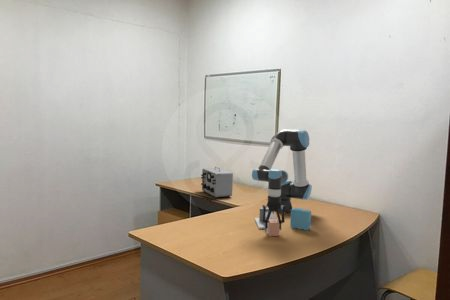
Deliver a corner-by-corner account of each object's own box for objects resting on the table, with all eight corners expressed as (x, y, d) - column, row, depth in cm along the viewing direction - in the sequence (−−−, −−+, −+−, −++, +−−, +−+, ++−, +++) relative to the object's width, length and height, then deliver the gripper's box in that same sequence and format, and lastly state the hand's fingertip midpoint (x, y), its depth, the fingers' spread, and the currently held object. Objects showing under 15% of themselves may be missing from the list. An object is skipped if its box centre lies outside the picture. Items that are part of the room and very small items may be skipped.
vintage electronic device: (200, 191, 313) (200, 165, 311) (217, 190, 320) (218, 164, 318) (213, 199, 284) (213, 170, 282) (232, 197, 292) (232, 169, 290)
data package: (310, 229, 210) (311, 210, 209) (308, 231, 206) (309, 212, 205) (292, 225, 217) (293, 207, 215) (290, 227, 213) (290, 209, 212)
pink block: (276, 231, 203) (276, 219, 202) (278, 235, 195) (279, 223, 194) (266, 231, 203) (267, 218, 202) (269, 235, 195) (269, 222, 194)
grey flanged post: (274, 220, 228) (275, 206, 227) (282, 231, 204) (283, 216, 203) (254, 219, 227) (255, 206, 226) (259, 231, 203) (260, 215, 202)
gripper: (288, 194, 201) (286, 231, 203) (257, 193, 200) (256, 231, 202) (291, 197, 193) (289, 235, 195) (259, 196, 192) (258, 235, 194)
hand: (272, 233), depth 198 cm, fingers closed on pink block, 6 cm apart
